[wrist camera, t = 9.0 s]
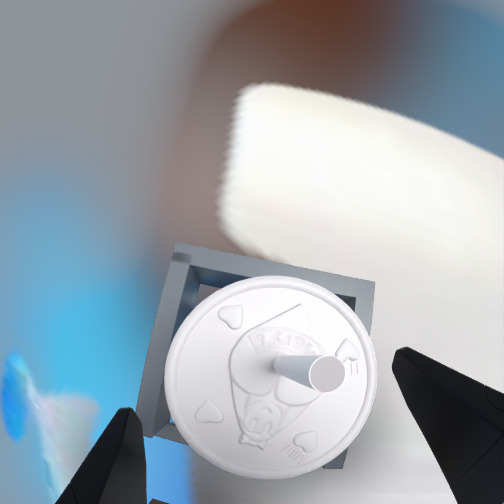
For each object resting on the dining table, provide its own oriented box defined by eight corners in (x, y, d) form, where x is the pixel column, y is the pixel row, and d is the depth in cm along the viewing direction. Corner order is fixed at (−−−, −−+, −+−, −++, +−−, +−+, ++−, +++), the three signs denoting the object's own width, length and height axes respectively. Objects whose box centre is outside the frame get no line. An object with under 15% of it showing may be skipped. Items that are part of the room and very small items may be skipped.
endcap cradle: (318, 461, 15) (337, 484, 11) (151, 431, 15) (129, 448, 11) (349, 297, 18) (375, 281, 15) (188, 265, 19) (176, 242, 15)
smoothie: (321, 333, 18) (496, 269, 4) (288, 430, 16) (401, 567, 2) (222, 301, 18) (185, 153, 5) (186, 398, 16) (58, 494, 3)
